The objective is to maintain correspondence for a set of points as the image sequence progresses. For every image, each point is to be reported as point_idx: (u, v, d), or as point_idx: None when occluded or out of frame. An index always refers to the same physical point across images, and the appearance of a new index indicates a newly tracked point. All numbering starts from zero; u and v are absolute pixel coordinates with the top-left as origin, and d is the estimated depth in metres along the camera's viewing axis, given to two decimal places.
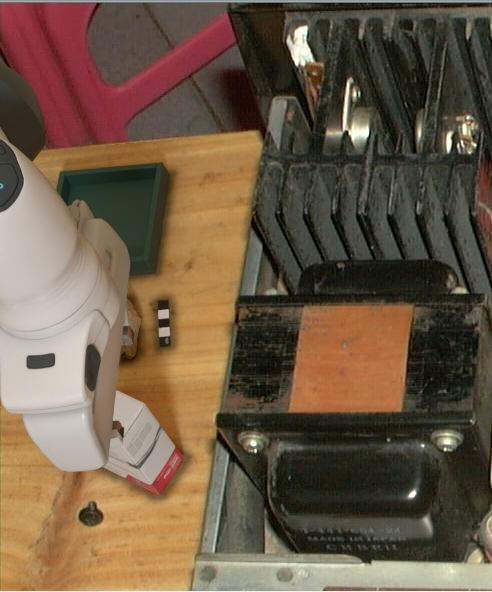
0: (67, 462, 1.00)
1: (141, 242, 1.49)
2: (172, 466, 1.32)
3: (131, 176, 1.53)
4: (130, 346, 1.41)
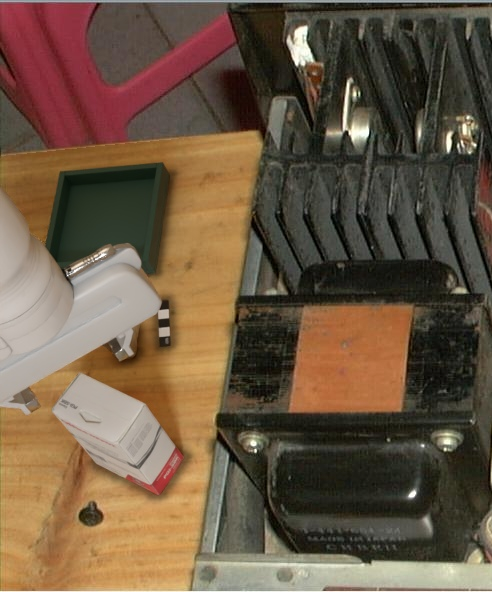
0: None
1: (141, 242, 1.49)
2: (172, 466, 1.32)
3: (131, 176, 1.53)
4: None
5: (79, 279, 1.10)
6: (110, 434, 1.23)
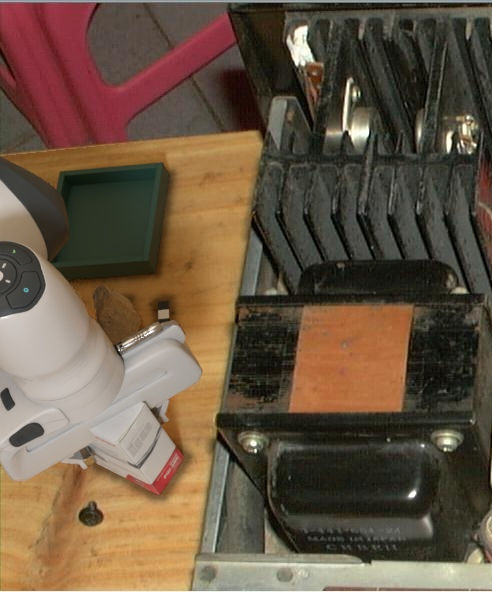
0: None
1: (141, 242, 1.49)
2: (172, 466, 1.32)
3: (131, 176, 1.53)
4: None
5: (129, 353, 1.21)
6: (110, 434, 1.23)
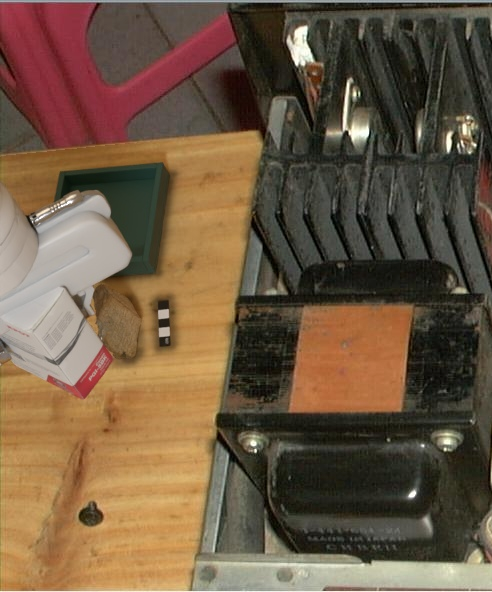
0: None
1: (141, 242, 1.49)
2: (99, 366, 1.16)
3: (131, 176, 1.53)
4: (130, 346, 1.41)
5: (45, 226, 1.05)
6: (23, 321, 1.07)
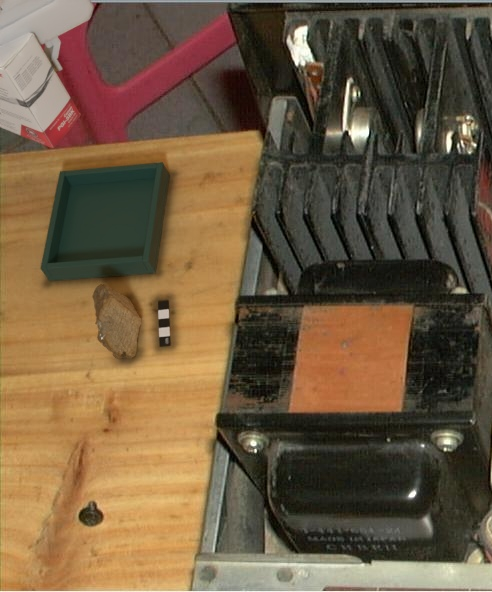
0: None
1: (141, 242, 1.49)
2: (67, 118, 1.30)
3: (131, 176, 1.53)
4: (130, 346, 1.41)
5: None
6: None
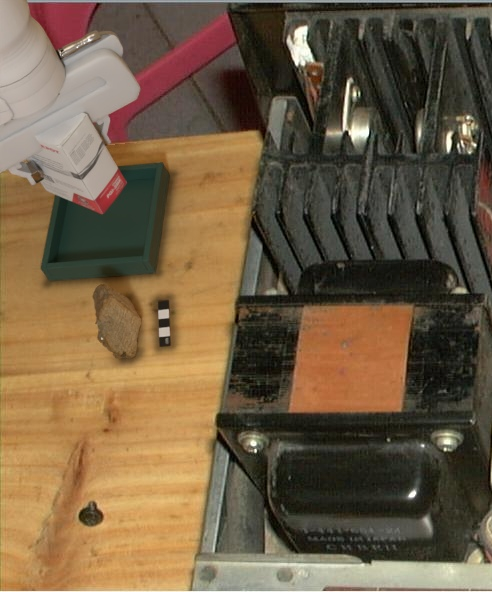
0: None
1: (141, 242, 1.49)
2: (114, 187, 1.42)
3: (131, 176, 1.53)
4: (130, 346, 1.41)
5: (70, 59, 1.31)
6: (54, 139, 1.33)
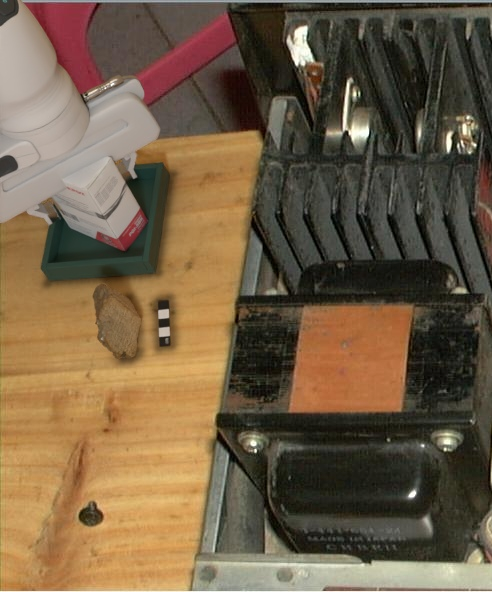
0: None
1: (141, 242, 1.49)
2: (136, 225, 1.48)
3: None
4: (130, 346, 1.41)
5: (94, 103, 1.36)
6: (80, 182, 1.39)
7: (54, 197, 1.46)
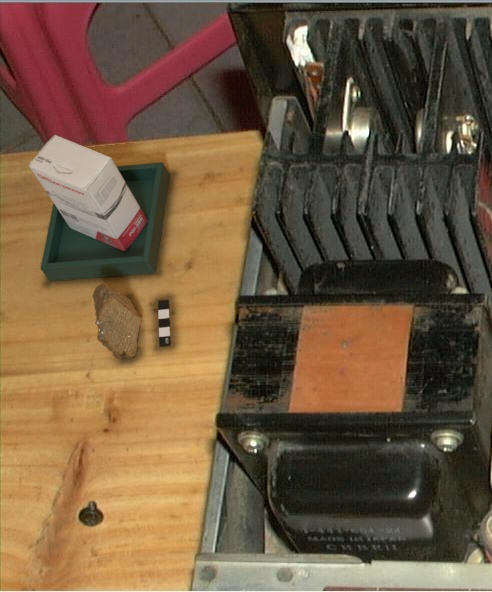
0: None
1: (141, 242, 1.49)
2: (136, 225, 1.48)
3: (131, 176, 1.53)
4: (130, 346, 1.41)
5: None
6: (80, 182, 1.39)
7: (54, 197, 1.46)
